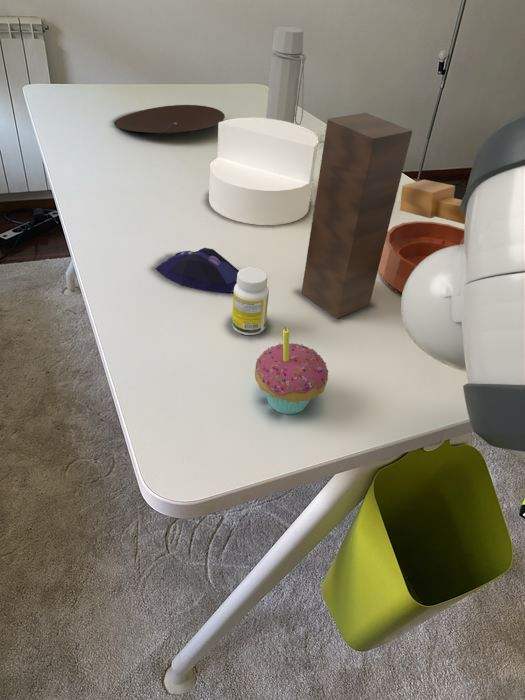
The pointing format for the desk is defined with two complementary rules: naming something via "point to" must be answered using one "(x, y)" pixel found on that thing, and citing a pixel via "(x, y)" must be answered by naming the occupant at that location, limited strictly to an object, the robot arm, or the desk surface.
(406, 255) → the bowl
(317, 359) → the cupcake
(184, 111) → the plate
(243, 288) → the supplement bottle
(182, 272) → the computer mouse
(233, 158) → the white stepped cylinder
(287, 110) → the water bottle
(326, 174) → the stand
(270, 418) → the desk surface
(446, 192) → the wooden t-shaped block
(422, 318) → the robot arm
